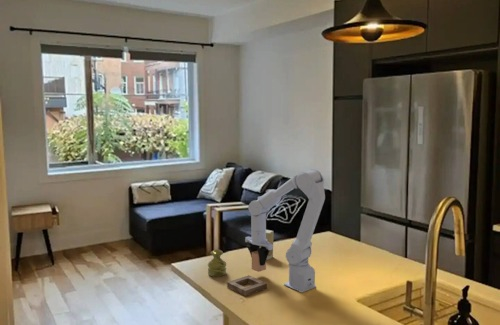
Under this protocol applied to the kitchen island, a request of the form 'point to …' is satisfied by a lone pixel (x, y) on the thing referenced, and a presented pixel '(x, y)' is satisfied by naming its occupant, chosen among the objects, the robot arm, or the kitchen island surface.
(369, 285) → the kitchen island surface
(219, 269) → the olive green textured figure
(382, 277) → the kitchen island surface
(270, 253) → the skincare box
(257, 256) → the peg
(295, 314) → the kitchen island surface
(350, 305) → the kitchen island surface
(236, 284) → the socket block
